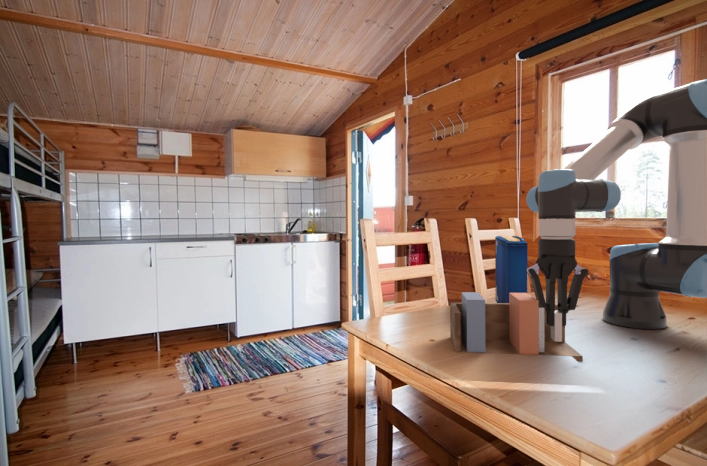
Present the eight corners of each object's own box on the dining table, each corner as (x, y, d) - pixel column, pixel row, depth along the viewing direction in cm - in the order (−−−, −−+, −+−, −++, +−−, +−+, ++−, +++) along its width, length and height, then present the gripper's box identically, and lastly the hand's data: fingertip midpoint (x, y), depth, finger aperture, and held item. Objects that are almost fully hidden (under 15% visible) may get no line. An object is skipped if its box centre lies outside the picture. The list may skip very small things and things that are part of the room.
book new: (526, 341, 94) (526, 292, 93) (538, 354, 85) (538, 300, 84) (509, 340, 94) (509, 292, 94) (519, 353, 85) (519, 300, 85)
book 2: (530, 318, 118) (530, 238, 118) (506, 317, 120) (505, 238, 119) (515, 303, 140) (515, 235, 139) (495, 302, 141) (494, 235, 140)
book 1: (478, 340, 95) (478, 292, 95) (485, 352, 87) (485, 299, 86) (462, 339, 96) (461, 292, 96) (467, 351, 87) (466, 299, 87)
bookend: (532, 340, 93) (532, 299, 93) (544, 352, 85) (544, 307, 85) (527, 340, 94) (527, 299, 93) (538, 352, 85) (538, 307, 85)
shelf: (563, 344, 94) (563, 304, 94) (582, 360, 83) (582, 315, 83) (450, 341, 98) (450, 302, 98) (455, 356, 87) (454, 312, 87)
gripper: (579, 236, 90) (579, 335, 91) (521, 237, 92) (521, 334, 93) (595, 238, 83) (594, 345, 84) (531, 238, 85) (531, 344, 86)
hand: (556, 339), depth 88 cm, fingers closed
